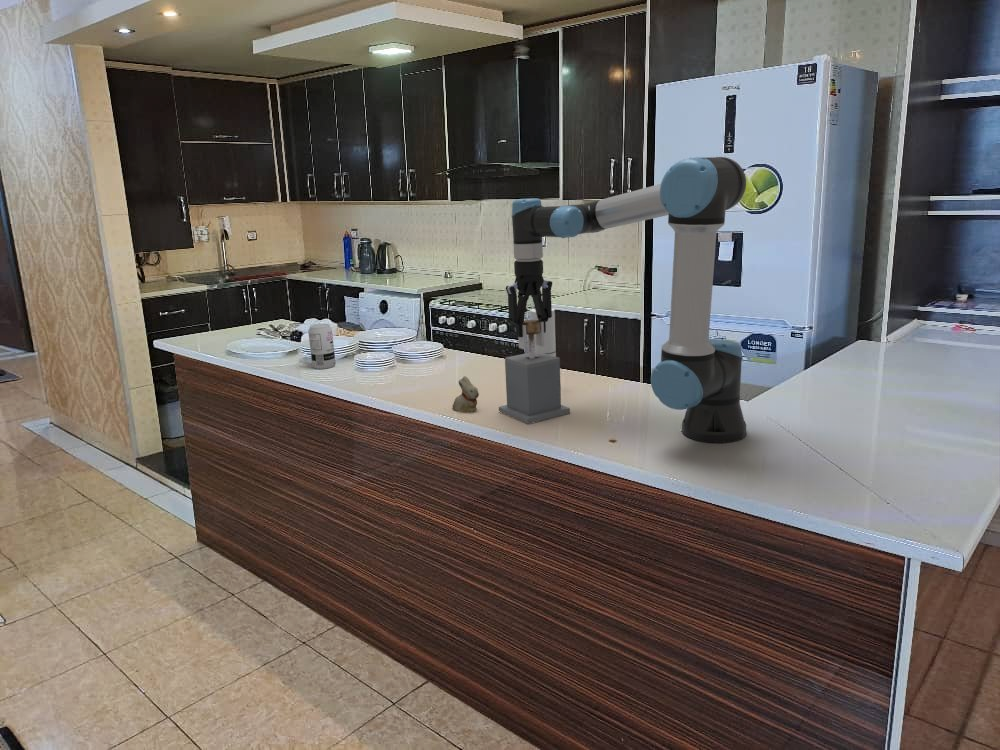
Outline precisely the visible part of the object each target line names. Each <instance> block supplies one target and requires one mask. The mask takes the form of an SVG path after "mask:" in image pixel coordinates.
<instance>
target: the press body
mask: <svg viewBox="0 0 1000 750" xmlns="http://www.w3.org/2000/svg"><path fill="white" fill-rule="evenodd" d="M560 361H561V358H560V357H558V356H556V357H555V356H551V355H547V354H544V353H540V352H537V351H536V352H535V359H532V360H530V359H529V352H526V353H522V354H521V353H520V354H516V355H510V356H508V357H504V365H505V366H504V367H505V369H504V370H505V372H504V373H505V386H506V387H505V390H506V391H505V392H506V405H505V404H504V405H500V406H498V412H499V411H500V412H502V413H501V414H503V413H505V414H507V415H509V416H508V417H510V416H511V417H510V418H512V417H514V418H516V419H515V420H517V419H518V420H517V421H519V420H520V421H519V422H521V421H522V422H521V423H524V424H526V423H527V424H526V425H531V424H534V423H533V422H535V423H538V422H537V421H539V422H542V421H541V420H543V421H545V419H547V420H550V419H554V418H557V417H562V416H564V415H569V414H571V407H568V406H565V405H562V397H561V394H562V393H561V390H562V389H561V362H560ZM500 412H499V413H500ZM505 414H504V415H505ZM507 415H506V416H507ZM514 418H513V419H514ZM530 423H531V424H530Z"/></svg>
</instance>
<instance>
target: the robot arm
mask: <svg viewBox="0 0 1000 750" xmlns="http://www.w3.org/2000/svg"><path fill="white" fill-rule="evenodd" d="M746 189H747V176H746V174H745V171H744V169H743V168H742V166H741V165H740V164H739V163H738V162H737V161H735V160H734V159H731V158H729V157H725V156H724V157H722V156H716V157H714V156H713V157H712V156H711V157H710V156H709V157H703V156H702V157H700V156H696V157H689V158H686V159H682V160H679V161H678V162H675V163H674V164H673V165H671V166H670V167H669V169H668V170H666V172H665V174H664V175H663V177H662V179H661V182H660V184H655V185H651V186H648V187H647V186H646V187H643V188H640V189H637V190H632V191H629V192H625V193H622V194H621V193H620V194H617V195H612V196H610V197H607V198H606V197H605V198H603V199H598V200H595V201H590V202H586V203H581V204H580V203H577V204H567V205H566V204H565V205H554V206H543V204H542V201H541V199H540V198H533V197H532V198H531V197H529V198H519V199H515V200H513V202H512V203H511V222H512V238H513V240H512V241H513V258H514V259H515V260H514V262H513V265H514V269H513V270H514V275H515V280H514V283H513V284H510V285H506V286H505V290H506V294H507V304H508V305H507V306H508V307H507V308H508V310H507V311H508V322H509V323H511V324H513V325H515V336H516V338H517V337H518V348H519V349H521V350H528V345H527V341H528V340H527V339H528V338H527V337H528V336H527V335H526V325H524V324H523V323H524V321H525V316H526V310H527V306H528V305H527V304H528V300H529V298H530V297H531V298H532V302H533V305H534V309H535V310H536V314H537V318H538V320H539V321H540V333H539V334H536V345H539V346H544V333H545V332H546V322H547V321H548V318H551V317H552V308H553V306H552V286H553V281H551V280H547V279H546V280H545V279H544V276H543V273H544V261H543V260H542V258H543V257H544V253H543V251H544V247H543V237H546V238H548V237H549V238H561V239H566V238H576V237H577V236H578V235H583V234H590V233H591V234H593V233H599V232H601V231H604V230H607V229H608V230H609V229H612V228H616V227H622V226H625V225H630V224H635V223H639V222H644V221H648V220H652V219H656V218H657V219H658V218H662V217H666V216H668V217H667V218H668V219H667V221H668V222H667V224H668V225H669V227H671V229H672V230H673V232H674V241H673V242H674V244H673V261H672V262H673V263H672V280H671V282H672V283H671V295H670V296H671V298H670V299H671V301H670V315H669V316H670V317H669V331H668V334H669V335H668V340H667V341H666V342H664V343H663V344H662V346H661V352H660V353H661V354H660V362H659V363H657V364H656V366H655V367H654V368H653V370H652V372H651V374H650V387H651V389H652V391H653V394H654V395H655V397H656V398H657V399H658V400H659V402H660V403H662V405H664V406H666V407H667V408H670V409H673V410H675V411H676V410H677V411H678V410H679V411H682V410H686V411H685V414H684V418H683V419H682V422H681V433H682V434H683V435H684V436H685V437H687V438H690V439H692V440H695V441H700V442H705V443H718V444H719V443H731V442H736V441H739V440H742V439H744V438H745V437H746V435H747V423H746V421H745V419H744V414H743V411H742V407H741V383H742V382H741V381H742V379H741V377H742V360H743V356H742V346H741V345H740V343H739V342H736V341H731V340H727V339H726V340H724V339H715V338H710V328H711V327H710V326H711V325H710V324H711V313H712V312H711V311H712V310H711V309H712V296H713V284H714V281H713V280H714V270H715V259H716V257H715V256H716V243H717V233H718V230H720V229H721V228H722V227H723V226H725V220H726V219H725V218H726V211H729V210H730V209H732V208H734V207H735V206H736V205H737V204H739V203H740V201H741V200H742V198H743V197H744V195H745V192H746Z"/></svg>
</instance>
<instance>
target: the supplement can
mask: <svg viewBox="0 0 1000 750" xmlns="http://www.w3.org/2000/svg"><path fill="white" fill-rule="evenodd" d="M307 333H308V341H309V347H310V348H309V349H310V357H311V358H310V359H311V367H313V368H314V369H317V370H329V369H332V368H333V367H335V365H336V355H335V344H334V337H333V328H332V327H331V325H330V324H329V323H328V324H327V323H321V324H313V325H310V326H309V329H308V332H307Z"/></svg>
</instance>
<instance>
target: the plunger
mask: <svg viewBox="0 0 1000 750" xmlns="http://www.w3.org/2000/svg"><path fill="white" fill-rule="evenodd" d="M523 324H524V325H526V336H527V337H528V338H527V339H528V340H527V341H528V353H529V359H530V360H532V359H535V344H534V334H539V333H540V321H539V320H530V319H526V320H525V319H524V323H523Z"/></svg>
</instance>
